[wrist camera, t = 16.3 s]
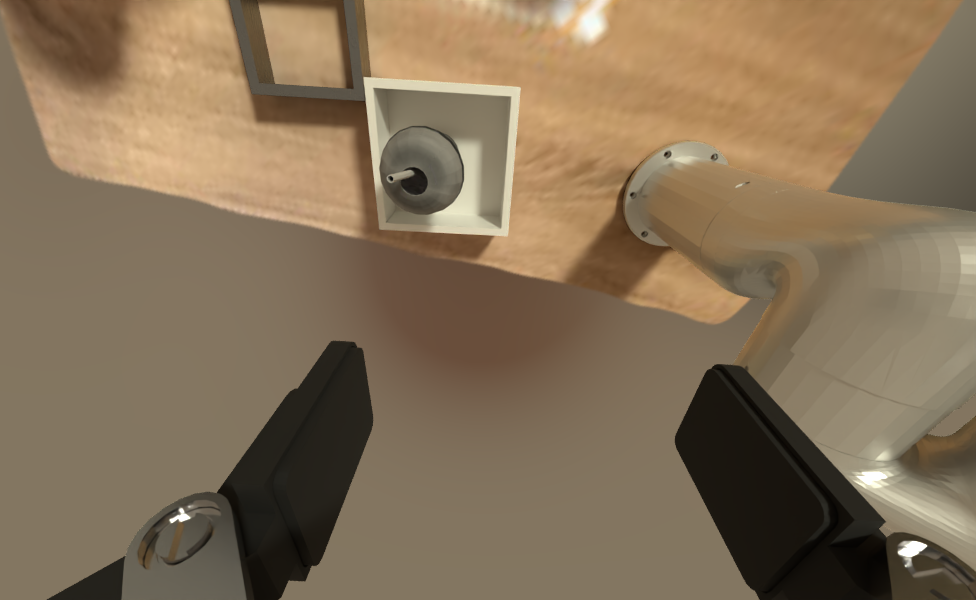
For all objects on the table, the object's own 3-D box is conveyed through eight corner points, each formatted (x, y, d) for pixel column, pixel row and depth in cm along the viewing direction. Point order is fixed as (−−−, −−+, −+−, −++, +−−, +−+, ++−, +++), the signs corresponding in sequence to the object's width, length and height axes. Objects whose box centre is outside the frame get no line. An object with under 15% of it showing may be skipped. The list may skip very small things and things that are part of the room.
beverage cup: (428, 196, 43) (385, 264, 25) (395, 138, 39) (320, 169, 22) (481, 169, 41) (475, 221, 24) (451, 105, 38) (418, 111, 20)
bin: (516, 88, 38) (520, 87, 33) (505, 220, 45) (507, 236, 40) (380, 80, 37) (363, 77, 32) (391, 214, 45) (379, 229, 39)
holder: (359, -39, 33) (349, -51, 30) (373, 101, 38) (364, 101, 36) (236, -48, 32) (214, -61, 30) (267, 94, 38) (251, 94, 35)
